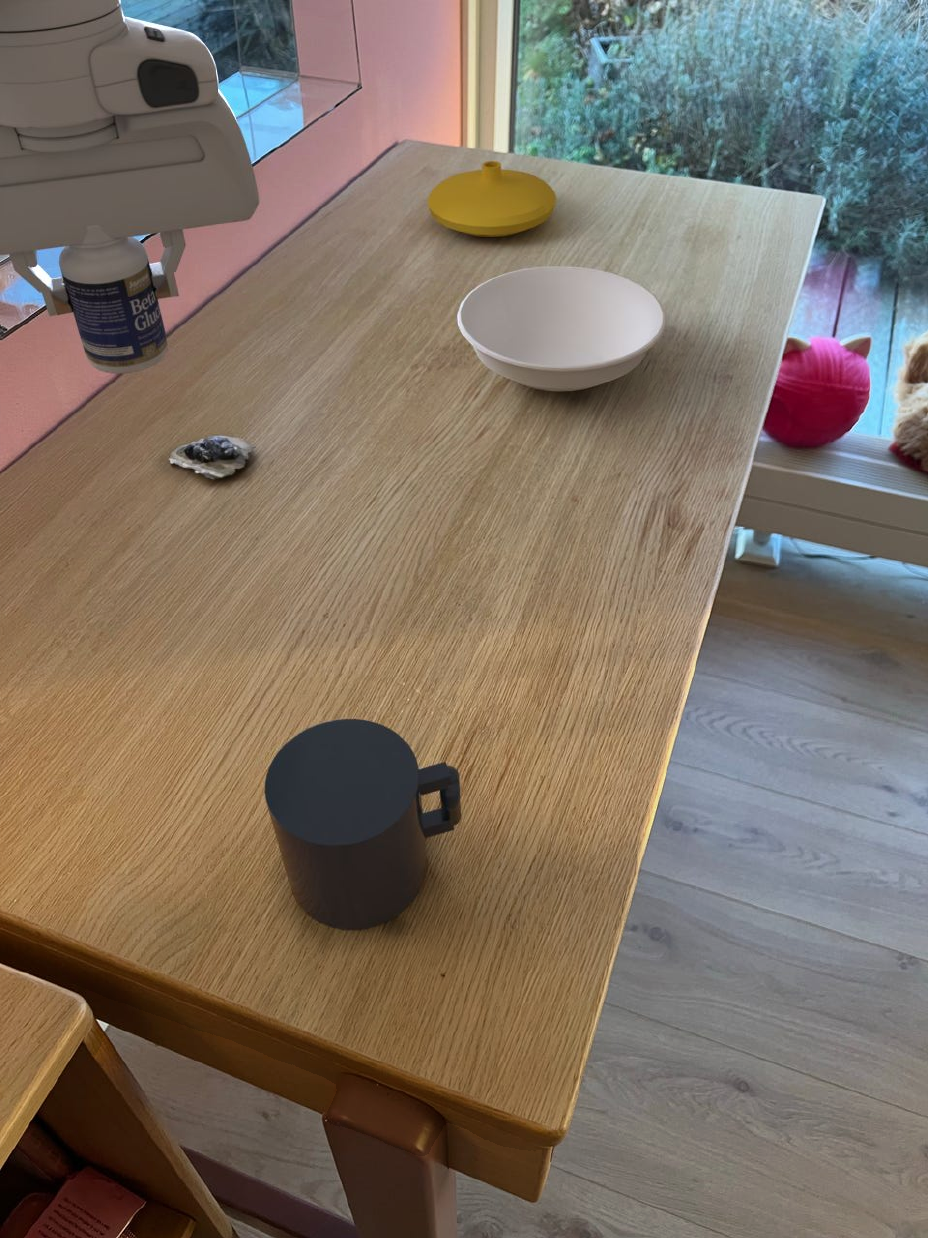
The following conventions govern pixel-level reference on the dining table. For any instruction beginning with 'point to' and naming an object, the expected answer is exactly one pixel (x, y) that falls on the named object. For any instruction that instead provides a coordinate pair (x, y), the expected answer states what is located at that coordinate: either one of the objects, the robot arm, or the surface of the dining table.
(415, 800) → the mug
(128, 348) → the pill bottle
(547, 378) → the bowl
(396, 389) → the dining table surface
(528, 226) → the vase
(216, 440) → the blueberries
